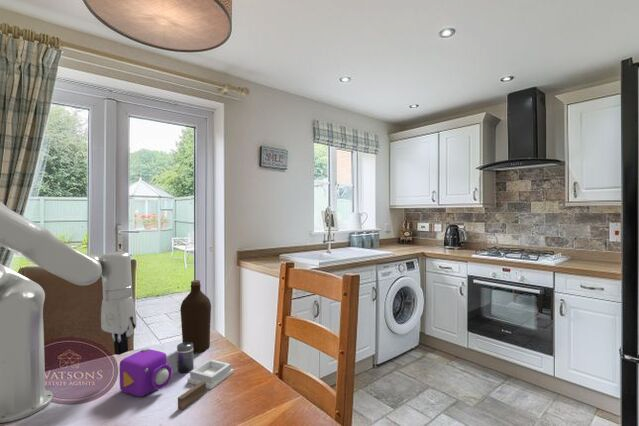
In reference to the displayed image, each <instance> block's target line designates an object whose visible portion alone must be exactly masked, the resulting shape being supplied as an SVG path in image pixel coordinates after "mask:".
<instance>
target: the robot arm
mask: <svg viewBox="0 0 639 426" xmlns="http://www.w3.org/2000/svg"><path fill="white" fill-rule="evenodd" d="M0 247H3V248H4V249H6V250H8V251H11V252H12V253H14V254H16V255H18V256H20V257H22V258H23V259H25V260H26V261H28V262H31V263H33V264H34V265H36V266H38V267H40V268H42V270H45V271H47V272H48V273H51V274H52V275H54V276H57V277H59V278H60V279H63V280H65V281H67V282H69V283H72V284H73V285H77V286H89V285H91V284H94V283H95V282H97V281H98V280H99V279H100V278H101V283H102V301H101V308H100V323H101V324H100V325H101V327H100V328H101V330H102V331H104V332H105V333H109V334H111V337H112V339H111V340H112V341H113V347H114V355H117V356H120V355H122V354H124V353H127V352H128V351H129V338H130V337H131V336H134V335H135V331H134V330H135V329H136V328H137V313H136V306H135V300H134V297H133V283H132V282H133V279H132V277H133V276H132V275H133V274H132V262H131V261H132V259H131V255H130V253H129V252H126V251H115V252H110V253H105V254H104V253H103V254H102V253H100V254H94V253H92V254H91V253H90V254H88V253H87V254H86V253H85V254H84V253H82V252H80V251H78V250H76V248H75V249H74V248H73V247H71V246H70V245H68V244H66V243H64V242H63V241H62V240H60V239H58V237H56V236H55V235H54V234H53V233H52V232H51V231H50V230H48V229H47V228H46V227H44V226H42V225H40V224H38V223H36V222H34V221H33V220H31V219H28V218H27V217H25V216H23V215H21V214H19V213H17V212H15V211H14V210H12V209H10V208H8V207H7V206H6V205H5V204H4V203H3V202H2V201H0ZM45 298H46V293H45V290H44V289H43V286H41V285H40V284H39V283H38V282H36V281H33V280H32V279H30V278H29V277H26V276H24V275H23V274H21V273H20V272H19V273H18V272H17V271H15V270H14V269H12V268H10V267H8V266H6V265H4V264H2V263H0V424H1V423H4V424H5V423H8V422H14V421H18V420H20V419H23V418H26V417H28V416H31V415H33V414H36V413H37V412H39V411H41V410H43V409H44V408H46V407H47V406H48V405H50V403H51V402H52V400H53V398H54V396H53V395H54V393H53V392H52V391H51V390H48V389H46V375H45V374H46V370H45V366H46V365H45V341H44V340H45V335H44V334H45V331H44V305H45Z"/></svg>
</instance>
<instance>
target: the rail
mask: <svg viewBox="0 0 639 426" xmlns="http://www.w3.org/2000/svg"><path fill="white" fill-rule="evenodd" d="M206 393H207V388H206V382H203V381H201V382H200V383H198V384H197V385H195V384H194V386H192V387H191V388H189V389H188V390H187V391H185V392H184V393H183V394H181V395H180V396H178V397H177V410H179V411H184V410H185V409H186V408H188V407H189V406H190V405H191V404H193V403H194V402H196V401H197V400H199V399H200V398H201V397H202V396H204V395H205V394H206Z"/></svg>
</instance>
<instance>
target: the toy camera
mask: <svg viewBox="0 0 639 426" xmlns="http://www.w3.org/2000/svg"><path fill="white" fill-rule="evenodd" d="M118 369H119V389H120V390H121V392H123V393H126V394H130V395H131V396H136V397H139V398H140V397H144V396H146V395H148V394H149V393H151V392H153V391H155V390H162V389H164V388H165V386H167V385H168V383H169V381H170V380H171V377H172V375H173V371H172V370H173V369H172V366H171V365H170V364H168V357H167V353H165V352H164V351H160V350H156V349H150V348H149V347H143V348H141V350H139V351H137V352H135V353H133V354H131V355H129V356H126V357H124V358H123V359H121V360H120V361H119V367H118Z"/></svg>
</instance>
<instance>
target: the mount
mask: <svg viewBox="0 0 639 426" xmlns="http://www.w3.org/2000/svg"><path fill="white" fill-rule="evenodd" d="M232 374H234V369H233V368H232V364H231V363H228V362H224V361H221V360H215V359H212V358H209V359H207V361H205V362H202V364H200V365H198V366H197V367H195V368H193V370H192V371H190V372H189V376H190V377H189V378H187V384H192V385H194V386H195V385H197V384H198V383H200V382H201V381H203V382H206V389H208V390H212V389H214V388H215V387H216V386H217V385H219V384H220V383H221V382H223V381H224V380H225V379H226V378H229V377H230V376H231V375H232Z"/></svg>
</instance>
